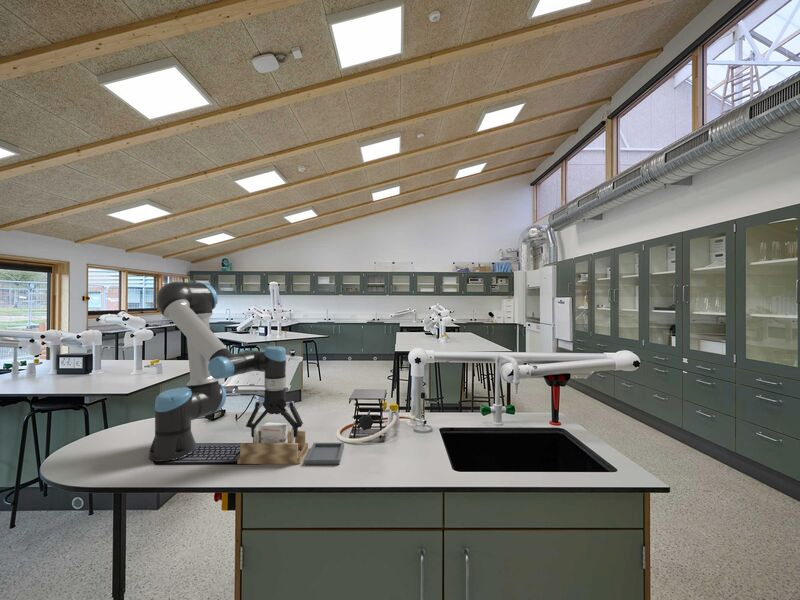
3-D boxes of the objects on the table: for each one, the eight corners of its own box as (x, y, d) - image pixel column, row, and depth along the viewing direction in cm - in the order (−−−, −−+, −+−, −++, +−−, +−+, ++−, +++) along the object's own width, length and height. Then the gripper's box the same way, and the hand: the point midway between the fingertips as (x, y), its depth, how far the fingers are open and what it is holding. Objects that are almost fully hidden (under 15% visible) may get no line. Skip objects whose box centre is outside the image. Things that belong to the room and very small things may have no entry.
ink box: (288, 454, 145) (288, 422, 145) (282, 459, 141) (282, 427, 140) (266, 452, 147) (267, 421, 147) (260, 457, 142) (260, 425, 142)
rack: (237, 463, 136) (237, 444, 136) (251, 448, 150) (251, 430, 150) (300, 463, 137) (300, 444, 137) (307, 448, 151) (308, 430, 151)
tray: (305, 465, 136) (305, 460, 136) (313, 447, 152) (313, 442, 152) (339, 464, 137) (339, 459, 137) (344, 447, 153) (344, 442, 153)
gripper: (237, 390, 139) (236, 449, 139) (306, 391, 140) (306, 449, 140) (244, 386, 147) (244, 441, 147) (310, 386, 148) (310, 441, 148)
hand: (274, 445), depth 144 cm, fingers open, 13 cm apart
